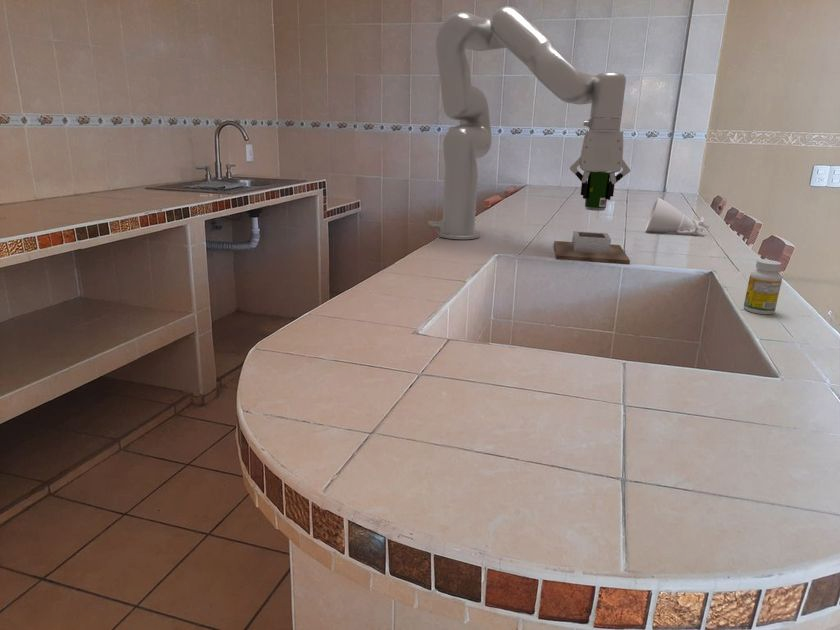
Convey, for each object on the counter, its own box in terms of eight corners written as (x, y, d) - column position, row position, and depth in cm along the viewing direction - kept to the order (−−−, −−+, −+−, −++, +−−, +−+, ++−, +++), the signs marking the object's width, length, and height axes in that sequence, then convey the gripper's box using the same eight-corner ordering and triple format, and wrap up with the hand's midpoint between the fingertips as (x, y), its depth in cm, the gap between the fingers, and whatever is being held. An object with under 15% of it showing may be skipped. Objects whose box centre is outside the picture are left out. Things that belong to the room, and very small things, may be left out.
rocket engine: (718, 206, 190) (660, 190, 194) (711, 233, 185) (652, 216, 189) (704, 229, 200) (650, 213, 204) (697, 255, 195) (642, 238, 199)
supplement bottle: (771, 316, 111) (782, 266, 108) (739, 310, 114) (750, 261, 111) (777, 310, 115) (788, 262, 112) (746, 304, 118) (756, 257, 115)
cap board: (556, 259, 153) (558, 239, 151) (554, 244, 171) (555, 226, 170) (629, 264, 150) (632, 244, 148) (619, 248, 168) (621, 230, 167)
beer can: (609, 210, 157) (615, 162, 153) (597, 211, 153) (603, 163, 150) (592, 207, 160) (597, 161, 157) (580, 208, 157) (585, 161, 153)
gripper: (570, 124, 148) (563, 198, 154) (642, 126, 145) (632, 202, 151) (569, 124, 155) (562, 195, 161) (637, 126, 153) (628, 198, 158)
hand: (596, 198), depth 156 cm, fingers closed on beer can, 5 cm apart
